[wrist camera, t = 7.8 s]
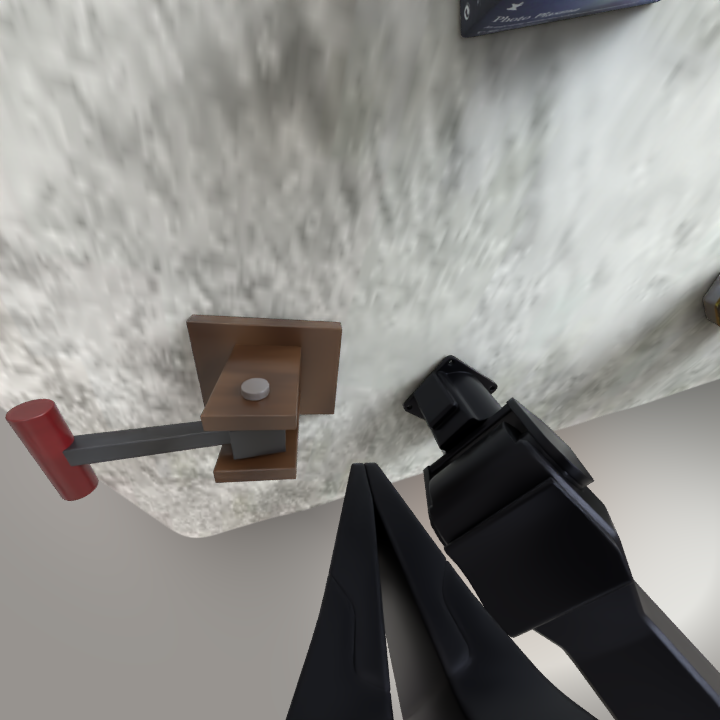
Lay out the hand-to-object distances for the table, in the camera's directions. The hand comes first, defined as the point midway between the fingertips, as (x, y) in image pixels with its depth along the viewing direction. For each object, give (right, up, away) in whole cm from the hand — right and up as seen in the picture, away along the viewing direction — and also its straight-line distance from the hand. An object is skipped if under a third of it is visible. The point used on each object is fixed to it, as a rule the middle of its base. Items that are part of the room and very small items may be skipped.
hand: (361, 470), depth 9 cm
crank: (-10, 0, +6) cm, 12 cm away
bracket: (-7, +3, +12) cm, 14 cm away
